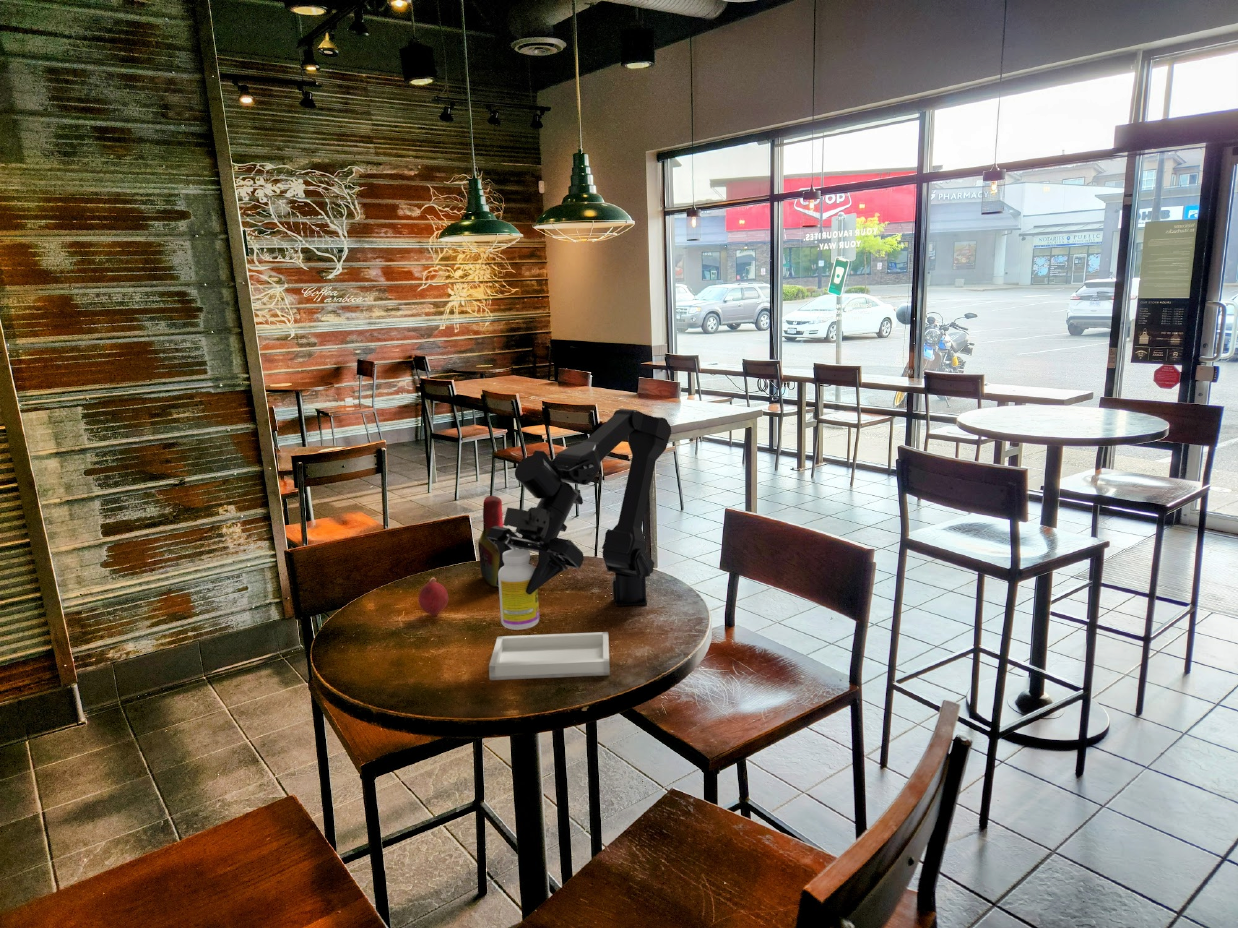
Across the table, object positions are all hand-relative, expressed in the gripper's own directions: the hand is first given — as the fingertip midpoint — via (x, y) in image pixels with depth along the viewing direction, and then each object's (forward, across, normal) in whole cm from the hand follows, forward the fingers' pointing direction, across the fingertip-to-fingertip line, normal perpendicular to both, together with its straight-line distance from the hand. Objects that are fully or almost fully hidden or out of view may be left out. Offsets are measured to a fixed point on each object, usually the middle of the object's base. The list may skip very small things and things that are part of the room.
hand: (512, 589), depth 135 cm
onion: (+5, -29, +14) cm, 33 cm away
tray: (+7, +5, +12) cm, 15 cm away
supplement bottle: (+4, 0, +6) cm, 7 cm away
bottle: (-10, -33, +29) cm, 45 cm away
